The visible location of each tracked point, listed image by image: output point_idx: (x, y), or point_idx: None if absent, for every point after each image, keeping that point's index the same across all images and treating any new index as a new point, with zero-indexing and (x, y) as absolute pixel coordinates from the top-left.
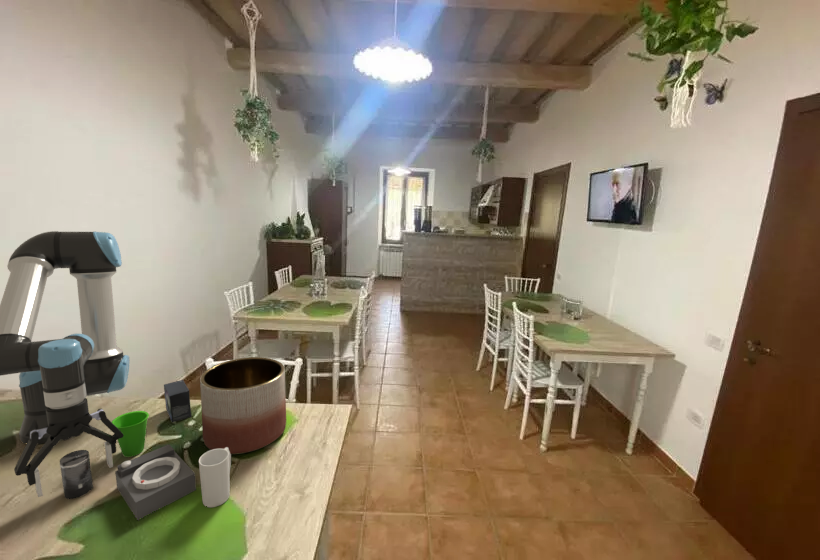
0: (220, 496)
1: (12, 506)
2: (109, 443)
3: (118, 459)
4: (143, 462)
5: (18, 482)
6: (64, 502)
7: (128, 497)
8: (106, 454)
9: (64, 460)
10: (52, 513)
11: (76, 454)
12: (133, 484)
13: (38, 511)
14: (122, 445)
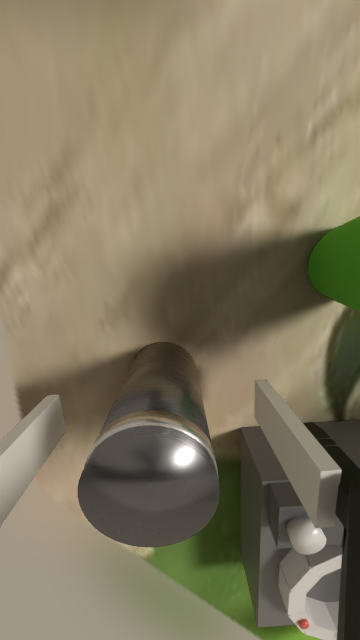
0: None
1: (14, 319)
2: (335, 509)
3: (287, 277)
4: None
5: (6, 174)
6: None
7: (250, 549)
8: (276, 422)
9: (100, 501)
10: (105, 421)
11: (161, 478)
12: (278, 569)
13: (76, 391)
14: (344, 293)
